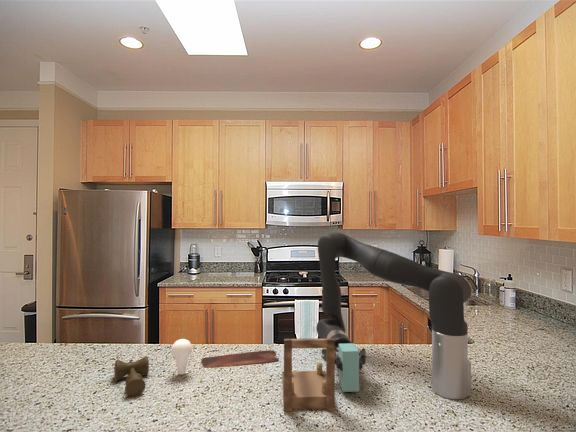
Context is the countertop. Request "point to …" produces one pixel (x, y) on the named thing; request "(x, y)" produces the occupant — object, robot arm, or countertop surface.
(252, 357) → the wooden tablet
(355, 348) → the teal block
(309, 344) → the peg shelf
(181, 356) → the lightbulb
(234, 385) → the countertop surface
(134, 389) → the kendama
